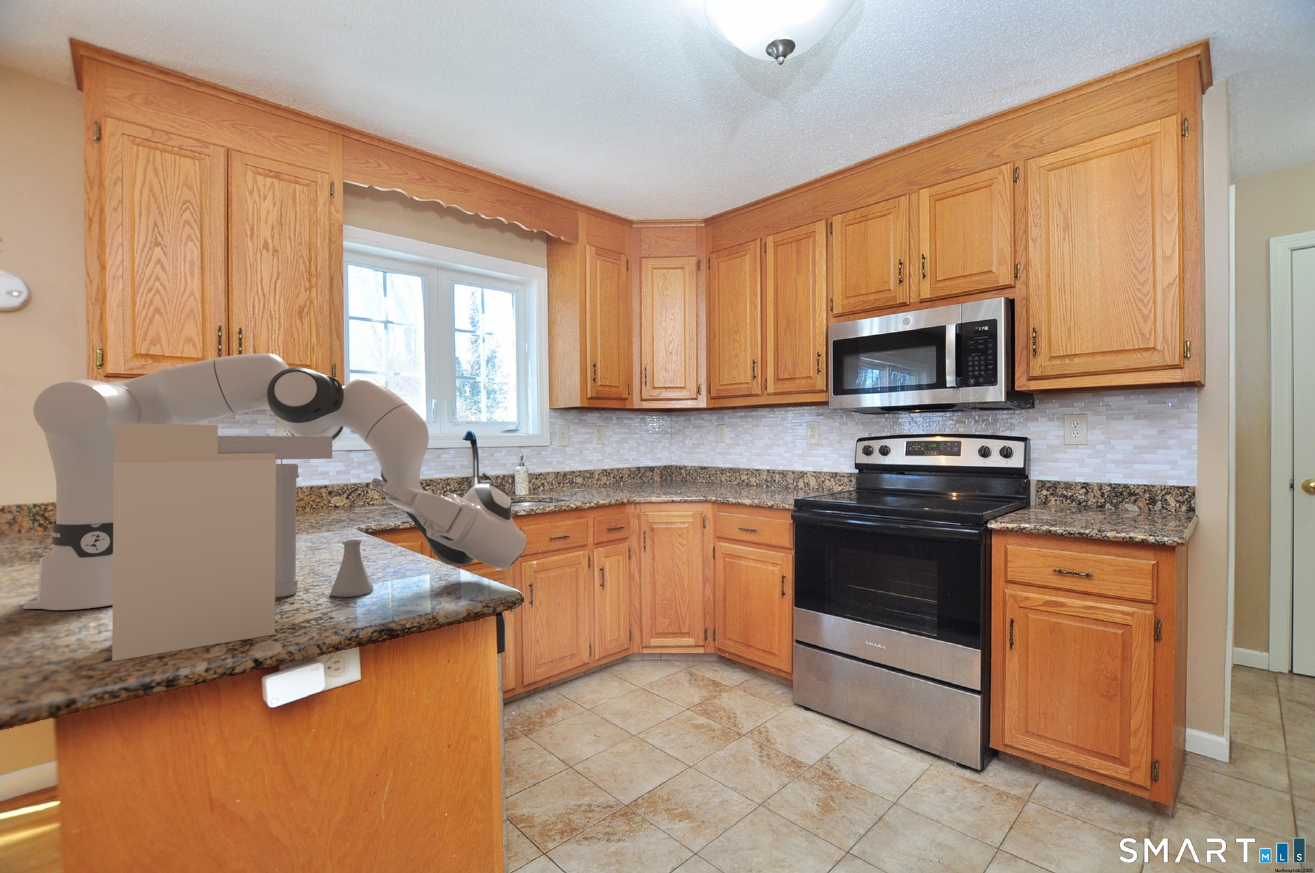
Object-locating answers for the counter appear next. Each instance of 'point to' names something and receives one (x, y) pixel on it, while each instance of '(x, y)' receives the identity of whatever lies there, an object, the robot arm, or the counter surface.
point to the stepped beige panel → (190, 540)
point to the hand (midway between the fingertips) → (378, 483)
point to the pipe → (285, 530)
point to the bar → (279, 446)
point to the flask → (351, 573)
